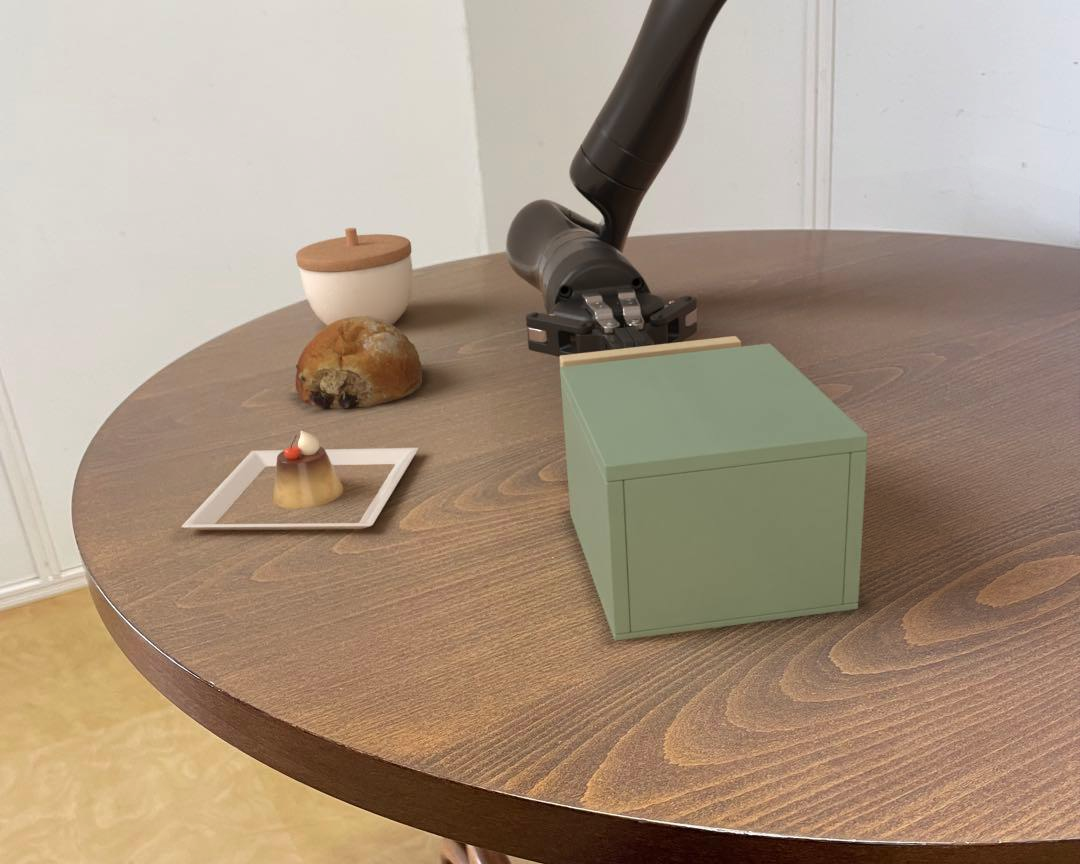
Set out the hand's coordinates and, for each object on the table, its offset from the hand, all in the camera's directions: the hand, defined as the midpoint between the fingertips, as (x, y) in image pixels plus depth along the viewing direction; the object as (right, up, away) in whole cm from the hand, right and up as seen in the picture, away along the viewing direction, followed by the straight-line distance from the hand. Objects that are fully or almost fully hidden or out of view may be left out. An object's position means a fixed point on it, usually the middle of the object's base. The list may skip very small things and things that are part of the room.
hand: (636, 359), depth 73 cm
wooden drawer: (+1, -9, -5) cm, 11 cm away
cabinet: (+2, -13, -12) cm, 18 cm away
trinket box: (-23, +9, +36) cm, 44 cm away
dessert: (-21, -9, 0) cm, 23 cm away
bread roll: (-21, 0, +18) cm, 27 cm away
